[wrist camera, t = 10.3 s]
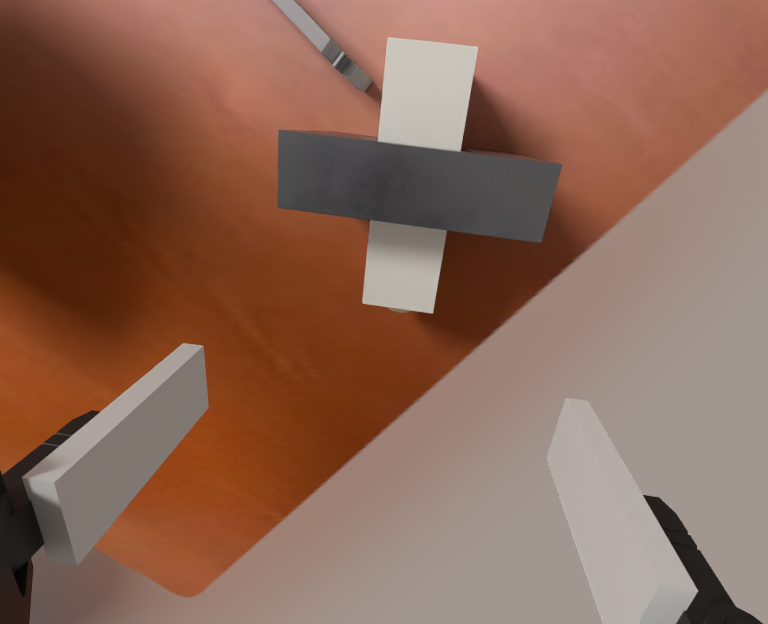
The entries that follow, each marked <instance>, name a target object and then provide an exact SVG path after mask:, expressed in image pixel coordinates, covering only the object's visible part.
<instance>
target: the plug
mask: <svg viewBox="0 0 768 624" xmlns="http://www.w3.org/2000/svg"><path fill="white" fill-rule="evenodd" d="M477 52H478V47H476V46H466V45H457V44H447V43H438V42H429V41H419V40H410V39H401V38H391V37H388V39H387V50H386V60H385V71H384V81H383V91H382V102H381V112H380V123H379V133H378V141H383V142H391V143H399V144H407V145H415V146H424V147H432V148H440V149H448V150H456V151H461V145H462V140H463V134H464V128H465V122H466V116H467V110H468V104H469V99H470V93H471V87H472V81H473V75H474V69H475V63H476V57H477ZM446 234H447V230H440V229H433V228H425V227H418V226H410V225H403V224H395V223H388V222H380V221H373V220H370V227H369V238H368V248H367V259H366V269H365V279H364V290H363V300H362V303H363V304H370V305H377V306H384V307H388V309H390V310H391V311H394V312H399V313H406V312H409V311H418V312H425V313H432V314H433V310H434V304H435V298H436V292H437V286H438V280H439V275H440V269H441V263H442V257H443V251H444V245H445V239H446Z"/></svg>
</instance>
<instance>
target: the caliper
mask: <svg viewBox="0 0 768 624" xmlns="http://www.w3.org/2000/svg"><path fill="white" fill-rule="evenodd" d="M273 1H274V3H275V4H276V5H277V6H278V7H279V8H280V9H281V10H282V11H283V12H284V13H285V15H286V16H287V17H288V18H289V19H290V20H291V21H292V22H293V23H294V24H295V25H296V26H297V27H298V28H299V29H300V30H301V31H302V32H303V33H304V35H305V36H306V37H307V38H308V39H309V40H310V41H311V42H312V43H313V44H314V45H315V46H316V47H317V48H318V49H319V50H320V53H321V54H322V55H323V56H324V57H326V58H327V59H328V60H329V61H330V62H331V63H332V64H333V66H334V67H335V68H336V69H337V70H338V71H340V72H341V73H342V74H343V75H344V76H345V77H346V79H347V80H349V81H350V82H351V83H352V84H353V85H355V86H356V87H357V88H358V89H360V90H361V91H363V92H365V91H366V89H367V88H368V87H369V86H370V84H371V83H372V82H373V81H372V80H371V79H370V78H369V77H368V76H367V75H366V74H365V73H364V72H363V71H362V70H361V69H360V68H359V67H358V66H357V65H356V63H355V62H354V61H353V60H352V59H351V58H350V57H349V56H348V55H347V54H346V53H345V52H344V51H343V50H342V49H341V48H340V47H339V46H338V45H337V44H336V43H335V42H334V41H333V40H332V39H331V38H330V37H329V35H328V34H327V33H326V32H325V31H324V30H323V29H322V28H321V27H320V26H319V25H318V24H317V23H316V22H315V21H314V20H313V18H312V17H311V16H310V15H309V14H308V13H307V12H306V11H305V10H304V9H303V8H302V7H301V6H300V5H299V4H298V3H297V2H296V1H295V0H273Z"/></svg>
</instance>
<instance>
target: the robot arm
mask: <svg viewBox="0 0 768 624" xmlns="http://www.w3.org/2000/svg"><path fill="white" fill-rule="evenodd" d="M208 408H209V407H208V394H207V382H206V370H205V358H204V346H201V345H194V344H187V343H183V344H182V345H181V346H179V347H178V348H177V349H176V350H174V351H173V352H172V353H171V354H170V355H168V356H167V357H166V358H165V359H164V360H162V361H161V362H160V363H159V364H158V365H156V366H155V367H154V368H153V369H152V370H150V371H149V372H148V373H147V374H146V375H144V376H143V377H142V378H141V379H140V380H138V381H137V382H136V383H135V384H134V385H132V386H131V387H130V388H129V389H128V390H126V391H125V392H124V393H123V394H122V395H120V396H119V397H118V398H117V399H116V400H114V401H113V402H112V403H111V404H110V405H108V406H107V407H106V408H105V409H104V410H102V411H101V412H99V411H93V410H92V411H90V412H88V413H86V414H84V415H82V416H79V417H77V418H75V419H73V420H72V421H70V422H69V423H68V424H67V425H65V426H64V427H63V428H62V429H60V430H59V431H58V432H57V434H56V435H55V434H54V435H53V436H51V437H50V438H49V439H48V440H46V441H45V442H44V444H43V445H40V446H39V447H37V448H36V449H35V450H34V451H32V452H31V453H30V454H29V455H27V456H26V457H25V458H23V459H22V460H21V461H20V462H18V463H17V464H16V465H15V466H13V467H12V468H11V469H10V470H8V471H7V472H6V473H4V474H3V475H2V474H1V471H0V624H29V618H30V604H31V592H32V591H31V590H32V578H33V564H32V560H31V557H32V556H33V555H34V554H35V553H36V552H37V551H38V549H40V547H41V546H42V545H44V548H45V551H46V554H47V557H48V560H49V561H53V562H59V563H64V564H70V565H75V566H78V565H79V564H80V562H81V561H82V560H83V559H84V557H85V556H86V555H87V554H88V553H89V551H90V550H91V549H92V548H93V547H94V545H95V544H96V543H97V542H98V541H99V539H100V538H101V537H102V536H103V535H104V533H105V532H106V531H107V530H108V529H109V527H110V526H111V525H112V524H113V522H114V521H115V520H116V519H117V518H118V516H119V515H120V514H121V513H122V512H123V510H124V509H125V508H126V507H127V506H128V504H129V503H130V502H131V501H132V499H133V498H134V497H135V496H136V495H137V493H138V492H139V491H140V490H141V489H142V487H143V486H144V485H145V484H146V483H147V481H148V480H149V479H150V478H151V476H152V475H153V474H154V473H155V472H156V470H157V469H158V468H159V467H160V466H161V464H162V463H163V462H164V461H165V460H166V458H167V457H168V456H169V455H170V454H171V452H172V451H173V450H174V449H175V447H176V446H177V445H178V444H179V443H180V441H181V440H182V439H183V438H184V437H185V435H186V434H187V433H188V432H189V431H190V429H191V428H192V427H193V426H194V424H195V423H196V422H197V421H198V420H199V418H200V417H201V416H202V415H203V414H204V412H205V411H206V410H207V409H208ZM546 461H547V464H548V467H549V470H550V472H551V475H552V478H553V481H554V484H555V487H556V490H557V493H558V496H559V499H560V501H561V504H562V507H563V510H564V513H565V516H566V519H567V522H568V525H569V527H570V530H571V533H572V536H573V539H574V542H575V545H576V548H577V550H578V553H579V556H580V559H581V562H582V565H583V568H584V571H585V574H586V577H587V579H588V582H589V585H590V588H591V591H592V594H593V597H594V600H595V603H596V605H597V608H598V611H599V614H600V617H601V620H602V623H603V624H762V623H761V622H760V621H759V620H757V619H756V618H755V617H754V616H752V615H751V614H748V613H747V612H745V611H743V610H741V609H739V608H737V607H736V606H735V605H734V603H733V602H732V600H731V598H730V597H729V595H728V594H727V592H726V591H725V589H724V587H723V586H722V584H721V583H720V581H719V580H718V578H717V577H716V575H715V574H714V572H713V570H712V569H711V567H710V566H709V564H708V563H707V561H706V559H705V558H704V556H703V555H702V553H701V552H700V550H697V546H696V544H695V542H694V541H693V539H692V538H691V536H690V535H688V531H687V530H686V528H685V527H684V525H683V523H682V522H681V520H680V519H679V517H678V516H677V514H676V513H675V512H674V511H673V510H672V509H671V508H669V506H667V505H666V504H665V503H664V502H663V501H662V500H661V499H660V498H659V497H652V496H646V495H642V493H641V492H640V490H639V488H638V487H637V485H636V483H635V481H634V479H633V478H632V476H631V474H630V473H629V471H628V469H627V467H626V466H625V464H624V462H623V460H622V459H621V457H620V455H619V454H618V452H617V450H616V448H615V447H614V445H613V443H612V441H611V440H610V438H609V436H608V435H607V433H606V431H605V430H604V428H603V426H602V424H601V423H600V421H599V419H598V417H597V416H596V414H595V412H594V410H593V409H592V407H591V405H590V404H589V402H588V401H585V400H578V399H571V398H565V401H564V404H563V408H562V410H561V414H560V417H559V420H558V423H557V426H556V429H555V432H554V435H553V438H552V441H551V445H550V447H549V451H548V454H547V457H546Z"/></svg>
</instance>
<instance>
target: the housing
mask: <svg viewBox="0 0 768 624" xmlns="http://www.w3.org/2000/svg"><path fill="white" fill-rule="evenodd" d="M561 167H562V164H557V163H553V162H549V161H544V160H540V159H536V158H531V157H527V156H523V155H518V154H512V153H504V152H495V151H487V150H479V149H471V148H465V149H464V151H456V150H448V149H440V148H432V147H424V146H415V145H407V144H399V143H391V142H383V141H378V137H373V136H364V135H356V134H348V133H340V132H331V131H300V130H279V143H278V208H283V209H290V210H298V211H305V212H313V213H320V214H328V215H335V216H343V217H350V218H358V219H365V220H373V221H380V222H388V223H395V224H403V225H410V226H418V227H425V228H433V229H440V230H448V231H455V232H463V233H470V234H478V235H485V236H492V237H500V238H507V239H515V240H522V241H530V242H537V243H541V242H542V239H543V235H544V231H545V227H546V224H547V220H548V216H549V212H550V209H551V205H552V201H553V197H554V194H555V190H556V186H557V182H558V178H559V175H560V171H561Z"/></svg>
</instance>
